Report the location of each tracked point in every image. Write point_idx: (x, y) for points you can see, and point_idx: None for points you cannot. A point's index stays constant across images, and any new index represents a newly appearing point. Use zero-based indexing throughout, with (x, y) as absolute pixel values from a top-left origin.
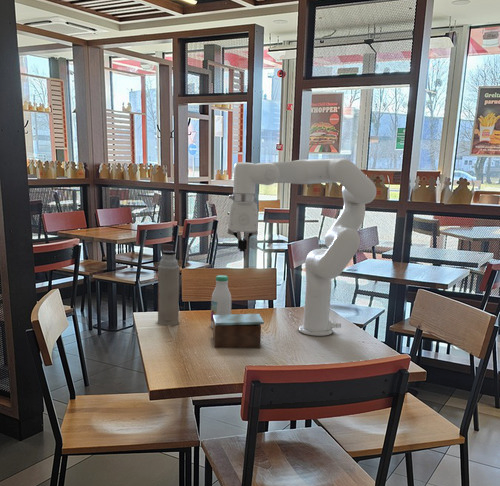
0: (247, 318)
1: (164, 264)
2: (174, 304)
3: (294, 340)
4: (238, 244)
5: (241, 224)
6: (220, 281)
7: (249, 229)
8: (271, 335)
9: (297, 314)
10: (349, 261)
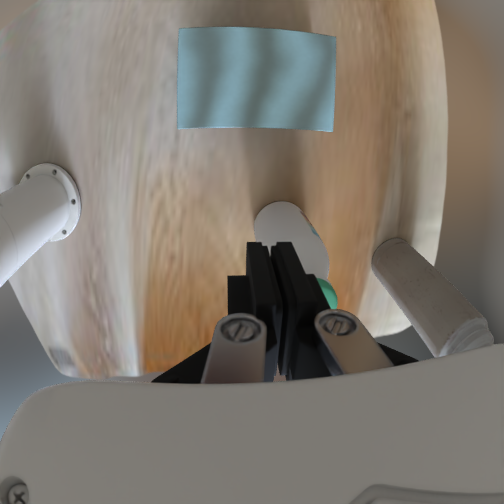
0: (227, 68)
1: (487, 329)
2: (407, 265)
3: (98, 118)
4: (320, 294)
5: (439, 498)
6: (320, 278)
7: (181, 417)
8: (150, 157)
9: (92, 335)
10: None
